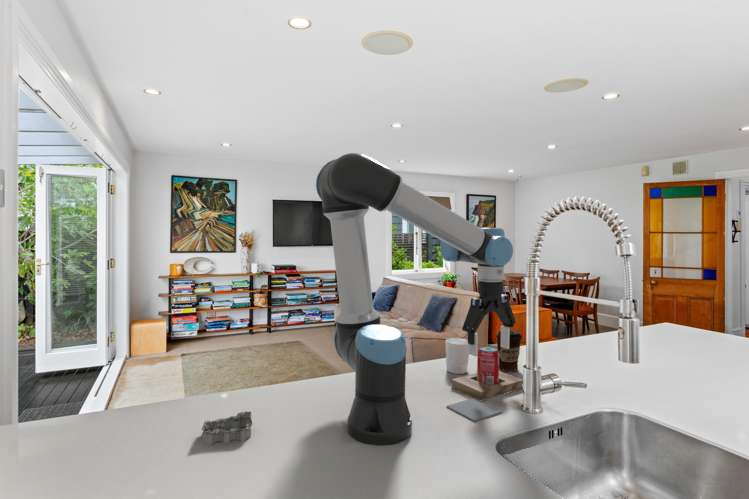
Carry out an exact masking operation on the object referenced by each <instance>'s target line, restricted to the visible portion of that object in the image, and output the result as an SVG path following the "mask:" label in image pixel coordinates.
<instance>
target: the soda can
mask: <svg viewBox="0 0 749 499" xmlns="http://www.w3.org/2000/svg"><path fill="white" fill-rule="evenodd" d="M478 348H479V349H478V356H477V357H476V358H477V361H476V362H477V363H476V365H477V366H476V373H477V381H478V382H480V383H482V384H485V385H487V386H491V385H494V384H498V383H499V371H500V369H499V352H498V349H497V347H495V346H488V345H482V346H479V347H478Z"/></svg>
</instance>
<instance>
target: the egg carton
mask: <svg viewBox="0 0 749 499" xmlns="http://www.w3.org/2000/svg"><path fill="white" fill-rule="evenodd" d="M252 426H253V421H252V412H251V411H247V410H246V411H243V412H242V411H241V412H239V413H237V414H236V415H235V416H234V415H230V416H229V417H227V418H226V417H225V418H223V417H222V418H218V419H216V420H205V421H204V423H203V424H202V427H201V431H202V432H201V435H202V443H203V444H204V443H205V444H207V445H213V444H214V443H215V442H223V443H224V444H226V443H230V442H231V441H233V440H239V441H240V442H242V441H243V442H244V441H245V442H246V440H247V439H249V438H251V437H252ZM228 429H230V430H228Z"/></svg>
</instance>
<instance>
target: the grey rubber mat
mask: <svg viewBox="0 0 749 499" xmlns="http://www.w3.org/2000/svg"><path fill="white" fill-rule="evenodd" d="M446 408H447V409H450V410H451V411H453V412H455V413H457V414H459V415H461V416H462V417H464V418H466V419H468V420H470V421H472V422H474V423H475V422H478V421H481V420H484V419H487V418H490V417H491V418H492V417H495V416H496V415H501V414H503V411H502V410H500V409H498V408H496V407H494V406H491V405H490V404H487V403H485V402H482V401H480V400H478V399H476V398H473V397H472V398H468V399H465V400H461V401H459V402H454V403H451V404H448V405H446Z"/></svg>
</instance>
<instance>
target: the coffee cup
mask: <svg viewBox="0 0 749 499" xmlns="http://www.w3.org/2000/svg"><path fill="white" fill-rule="evenodd" d="M522 340H523V335H522V334H521V332H520V331H519V330H516V329H510V337H509V349H506V348H503V347H500V346H501V330H498V333H497V334H496V343H497V346H496V348H497V349H498V352H499V371H502V372H511V373H512V372H517V371H519V368H518V366H519V365H518V363H519V357H520V352H521V351H520V348H521V341H522Z"/></svg>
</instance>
